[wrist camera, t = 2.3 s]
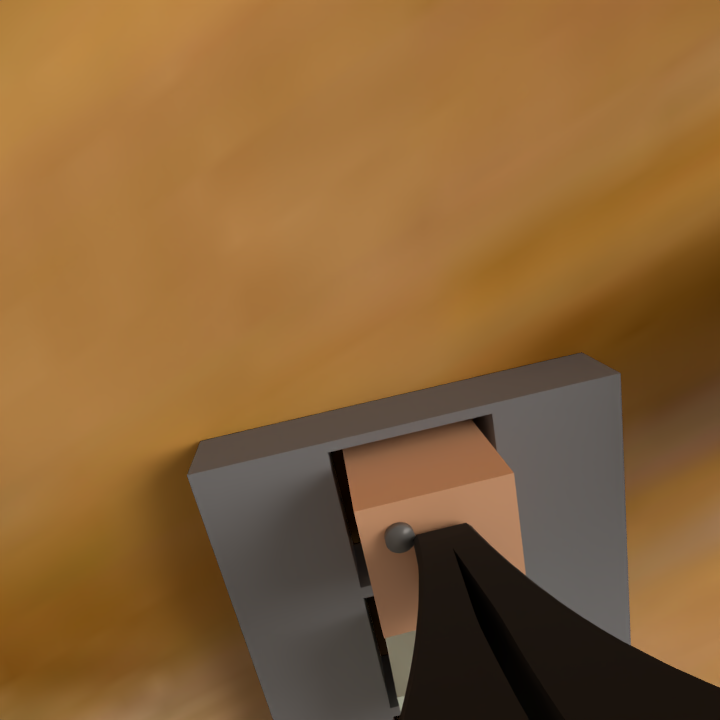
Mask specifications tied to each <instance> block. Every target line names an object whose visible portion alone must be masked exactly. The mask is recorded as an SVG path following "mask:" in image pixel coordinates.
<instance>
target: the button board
mask: <svg viewBox="0 0 720 720" xmlns="http://www.w3.org/2000/svg"><path fill="white" fill-rule="evenodd" d="M472 418H473V422H474V423H475V425H476V426H477V427H478V428H479V430H480V431H481V432H482V433H483V435H484V436H485V437H486V438H487V440H488V441H489V442H490V443H491V445H492V446H493V447H494V448H495V450H496V451H497V452H498V453H499V455H500V456H501V457H502V459H503V460H504V461H505V462H506V464H507V465H508V466H509V467H510V469H511V470H512V471H513V472H514V477H515V486H516V494H517V503H518V511H519V520H520V529H521V537H522V546H523V554H524V563H525V571H526V576H527V577H528V578H529V579H531V580H532V581H533V582H534V583H536V584H537V585H538V586H540V587H541V588H542V589H543V590H545V591H546V592H548V593H549V594H550V595H552V596H553V597H554V598H556V599H557V600H558V601H560V602H561V603H563V604H564V605H566V606H567V607H568V608H570V609H571V610H573V611H574V612H576V613H577V614H579V615H580V616H582V617H583V618H585V619H587V620H588V621H590V622H591V623H593V624H594V625H596V626H598V627H599V628H601V629H603V630H604V631H606V632H608V633H609V634H611V635H613V636H615V637H616V638H618V639H620V640H621V641H623V642H625V643H627V644H629V645H631V640H630V613H629V587H628V560H627V533H626V506H625V479H624V452H623V425H622V398H621V373H619V372H617V371H616V370H614V369H612V368H610V367H608V366H606V365H604V364H602V363H601V362H599V361H597V360H595V359H593V358H591V357H589V356H587V355H586V354H584V353H578V354H573V355H569V356H565V357H561V358H556V359H552V360H548V361H543V362H539V363H535V364H530V365H526V366H522V367H518V368H513V369H509V370H505V371H500V372H496V373H492V374H487V375H483V376H479V377H475V378H470V379H466V380H462V381H457V382H453V383H449V384H444V385H440V386H436V387H431V388H427V389H423V390H419V391H414V392H410V393H406V394H401V395H397V396H393V397H388V398H384V399H380V400H376V401H371V402H367V403H363V404H358V405H354V406H350V407H345V408H341V409H337V410H333V411H328V412H324V413H320V414H315V415H311V416H307V417H302V418H298V419H294V420H290V421H285V422H281V423H277V424H272V425H268V426H264V427H259V428H255V429H251V430H247V431H242V432H238V433H234V434H229V435H225V436H221V437H216V438H212V439H208V440H204V441H200V444H199V446H198V449H197V451H196V454H195V456H194V459H193V461H192V464H191V466H190V469H189V471H188V474H187V477H188V480H189V483H190V486H191V488H192V491H193V494H194V497H195V500H196V503H197V505H198V508H199V511H200V514H201V517H202V520H203V522H204V525H205V528H206V531H207V534H208V537H209V539H210V542H211V545H212V548H213V551H214V554H215V556H216V559H217V562H218V565H219V568H220V571H221V573H222V576H223V579H224V582H225V585H226V588H227V590H228V593H229V596H230V599H231V602H232V605H233V607H234V610H235V613H236V616H237V619H238V622H239V624H240V627H241V630H242V633H243V636H244V639H245V641H246V644H247V647H248V650H249V653H250V656H251V658H252V661H253V664H254V667H255V670H256V673H257V675H258V678H259V681H260V684H261V687H262V690H263V692H264V695H265V698H266V701H267V704H268V707H269V709H270V712H271V715H272V718H273V720H396V716H398V715H400V714H401V711H400V707H399V703H398V699H397V694H396V689H395V684H394V679H393V674H392V669H391V664H390V659H389V655H385V656H381V655H380V650H379V646H378V642H377V638H376V634H375V630H374V626H373V622H372V618H371V614H370V610H369V606H368V601H367V597H371V596H374V594H373V590H372V586H371V582H370V578H369V573H368V569H367V565H366V561H365V557H364V552H363V548H362V544H361V543H359V544H353V540H352V536H351V532H350V528H349V524H348V520H347V516H346V512H345V508H344V503H343V499H342V495H341V491H340V487H339V483H338V479H337V475H336V471H335V467H334V463H333V459H332V454H331V452H332V451H336V450H341V449H345V448H349V447H353V446H358V445H362V444H366V443H370V442H374V441H379V440H383V439H387V438H391V437H396V436H400V435H404V434H408V433H412V432H417V431H421V430H425V429H429V428H434V427H438V426H442V425H446V424H450V423H455V422H459V421H463V420H467V419H472Z"/></svg>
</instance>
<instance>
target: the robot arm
mask: <svg viewBox="0 0 720 720" xmlns="http://www.w3.org/2000/svg"><path fill="white" fill-rule="evenodd" d="M413 543H414V548H415V553H416V558H417V563H418V572H419V598H418V614H417V625H416V636H415V643H414V650H413V657H412V663H411V668H410V674H409V679H408V683H407V688H406V692H405V697H404V701H403V706H402V710H401V714H400V717H399V720H720V688H719V687H717V686H715V685H712V684H710V683H708V682H705V681H703V680H701V679H699V678H696V677H694V676H692V675H690V674H687V673H685V672H683V671H681V670H678V669H676V668H674V667H672V666H670V665H668V664H666V663H664V662H662V661H660V660H658V659H656V658H654V657H652V656H650V655H648V654H646V653H644V652H642V651H640V650H639V649H637V648H635V647H633V646H631V645H629V644H627V643H625V642H623V641H621V640H620V639H618V638H616V637H615V636H613V635H611V634H609V633H608V632H606V631H604V630H603V629H601V628H599V627H598V626H596V625H594V624H593V623H591V622H590V621H588V620H587V619H585V618H583V617H582V616H580V615H579V614H577V613H576V612H574V611H573V610H571V609H570V608H568V607H567V606H566V605H564V604H563V603H561V602H560V601H558V600H557V599H556V598H554V597H553V596H552V595H550V594H549V593H548V592H546V591H545V590H543V589H542V588H541V587H540V586H538V585H537V584H536V583H534V582H533V581H532V580H531V579H529V578H528V577H527V576H526V575H525V574H523V573H522V572H521V571H520V570H519V569H517V568H516V567H515V566H514V565H512V564H511V563H510V562H509V561H508V560H507V559H505V558H504V557H503V556H502V555H501V554H500V553H499V552H498V551H497V550H495V549H494V548H493V547H492V546H491V545H490V544H489V543H488V542H487V541H486V540H485V539H484V538H483V537H482V536H481V535H480V534H479V533H478V532H477V531H476V530H475V529H474V528H473V527H472V526H471V525H469V524H467V523H462V524H458V525H454V526H450V527H446V528H442V529H438V530H434V531H430V532H426V533H422V534H418V535H416V537H415V538H414V539H413Z"/></svg>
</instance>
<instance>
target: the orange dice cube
mask: <svg viewBox="0 0 720 720" xmlns="http://www.w3.org/2000/svg"><path fill="white" fill-rule="evenodd" d="M342 450H343V455H344V461H345V466H346V472H347V477H348V483H349V488H350V494H351V499H352V505H353V510H354V515H355V519H356V523H357V527H358V532H359V536H360V540H361V544H362V548H363V552H364V557H365V561H366V565H367V569H368V573H369V578H370V582H371V586H372V590H373V594H374V599H375V603H376V607H377V611H378V615H379V620H380V624H381V628H382V632H383V636H384V638H388V637H391V636H395V635H399V634H403V633H407V632H411V631H415V630H416V625H417V614H418V598H419V572H418V563H417V558H416V553H415V548H414V543H413V539H414V538H415V537H416V535H418V534H422V533H426V532H430V531H434V530H438V529H442V528H446V527H450V526H454V525H458V524H462V523H467V524H469V525H471V526H472V527H473V528H474V529H475V530H476V531H477V532H478V533H479V534H480V535H481V536H482V537H483V538H484V539H485V540H486V541H487V542H488V543H489V544H490V545H491V546H492V547H493V548H494V549H495V550H497V551H498V552H499V553H500V554H501V555H502V556H503V557H504V558H505V559H507V560H508V561H509V562H510V563H511V564H512V565H514V566H515V567H516V568H517V569H519V570H520V571H521V572H522V573H523V574H525V575H526V571H525V563H524V554H523V546H522V537H521V529H520V520H519V511H518V503H517V494H516V486H515V477H514V472H513V471H512V470H511V469H510V467H509V466H508V465H507V464H506V462H505V461H504V460H503V459H502V457H501V456H500V455H499V453H498V452H497V451H496V450H495V448H494V447H493V446H492V445H491V443H490V442H489V441H488V440H487V438H486V437H485V436H484V435H483V433H482V432H481V431H480V430H479V428H478V427H477V426H476V425H475V423H474V422H473V421H472V420H471V419H467V420H463V421H459V422H455V423H450V424H446V425H442V426H438V427H434V428H429V429H425V430H421V431H417V432H412V433H408V434H404V435H400V436H396V437H391V438H387V439H383V440H379V441H374V442H370V443H366V444H362V445H358V446H353V447H349V448H345V449H342Z"/></svg>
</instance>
